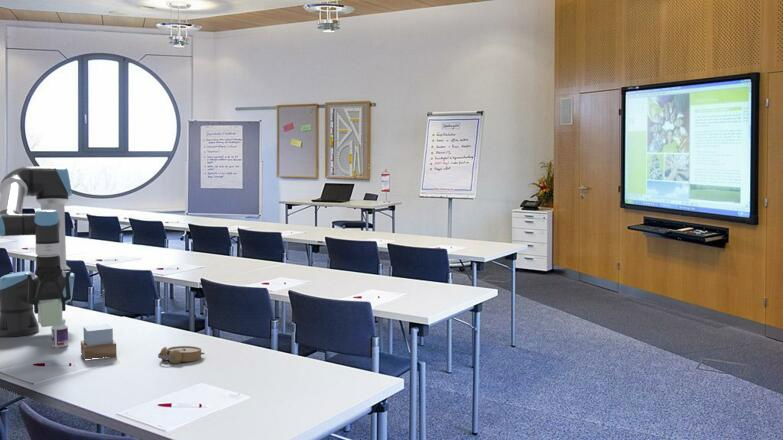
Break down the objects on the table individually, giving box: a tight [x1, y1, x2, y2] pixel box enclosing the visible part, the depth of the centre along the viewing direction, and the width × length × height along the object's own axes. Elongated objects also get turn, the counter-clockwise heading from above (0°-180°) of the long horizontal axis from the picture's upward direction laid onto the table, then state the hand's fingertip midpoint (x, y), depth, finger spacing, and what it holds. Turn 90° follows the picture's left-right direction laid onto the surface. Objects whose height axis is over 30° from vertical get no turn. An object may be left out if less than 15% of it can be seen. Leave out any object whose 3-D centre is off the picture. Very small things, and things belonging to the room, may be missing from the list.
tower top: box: [83, 323, 114, 346], centre depth 258 cm, size 8×8×5 cm
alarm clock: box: [157, 345, 205, 365], centre depth 253 cm, size 11×5×15 cm
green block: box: [39, 299, 61, 328], centre depth 260 cm, size 6×6×8 cm
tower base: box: [80, 339, 118, 359], centre depth 258 cm, size 10×10×5 cm
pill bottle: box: [50, 317, 69, 348], centre depth 271 cm, size 5×5×10 cm
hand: (50, 321), depth 260 cm, fingers closed on green block, 6 cm apart
